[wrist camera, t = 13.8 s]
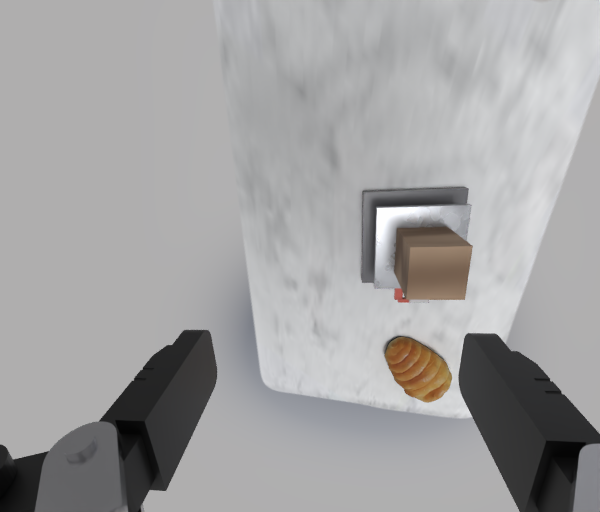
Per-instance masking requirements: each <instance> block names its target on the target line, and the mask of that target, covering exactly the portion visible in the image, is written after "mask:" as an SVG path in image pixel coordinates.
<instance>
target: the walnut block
mask: <svg viewBox="0 0 600 512" xmlns="http://www.w3.org/2000/svg"><path fill="white" fill-rule="evenodd" d="M472 247H473V246H472V245H470V244H469V243H468V242H467V241H465V240H464V239H463V238H462V237H460V236H459V235H458V234H456V233H455V232H454V231H453V230H451V229H450V228H449V227H417V228H397V232H396V250H395V267H394V273H395V276H396V278H397V280H398V282H399V285H400V287H401V289H402V291H403V293H404V296H405V298H406V300H465V294H466V287H467V281H468V274H469V267H470V260H471V254H472Z"/></svg>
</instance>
